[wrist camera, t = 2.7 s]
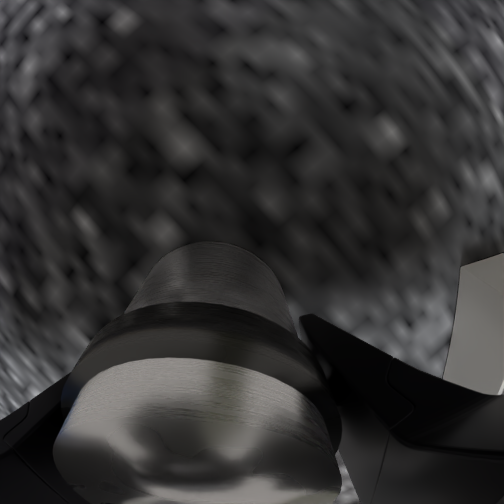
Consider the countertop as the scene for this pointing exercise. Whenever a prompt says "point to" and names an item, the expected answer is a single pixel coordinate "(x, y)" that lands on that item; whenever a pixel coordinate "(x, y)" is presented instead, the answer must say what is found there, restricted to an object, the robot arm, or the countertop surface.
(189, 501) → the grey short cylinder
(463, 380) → the grey open box
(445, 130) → the countertop surface
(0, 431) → the robot arm
